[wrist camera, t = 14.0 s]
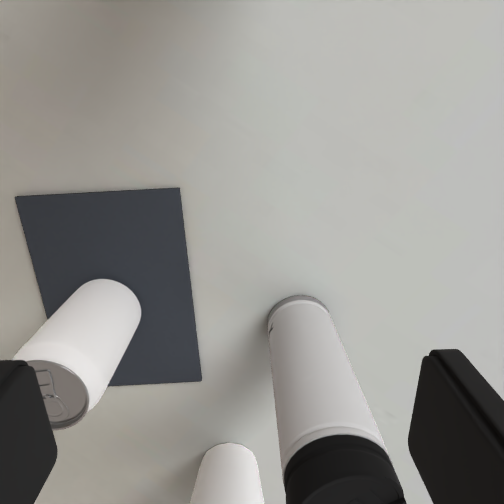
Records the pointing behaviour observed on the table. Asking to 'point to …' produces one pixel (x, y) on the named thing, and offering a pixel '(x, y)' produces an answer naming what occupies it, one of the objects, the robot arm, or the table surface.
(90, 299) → the can
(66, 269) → the mat
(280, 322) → the travel mug
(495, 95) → the table surface
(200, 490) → the foam cup
